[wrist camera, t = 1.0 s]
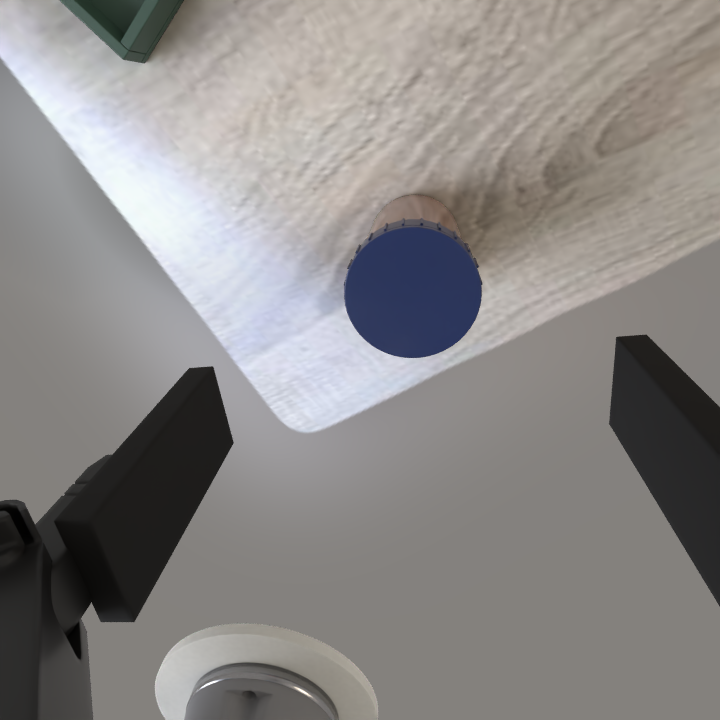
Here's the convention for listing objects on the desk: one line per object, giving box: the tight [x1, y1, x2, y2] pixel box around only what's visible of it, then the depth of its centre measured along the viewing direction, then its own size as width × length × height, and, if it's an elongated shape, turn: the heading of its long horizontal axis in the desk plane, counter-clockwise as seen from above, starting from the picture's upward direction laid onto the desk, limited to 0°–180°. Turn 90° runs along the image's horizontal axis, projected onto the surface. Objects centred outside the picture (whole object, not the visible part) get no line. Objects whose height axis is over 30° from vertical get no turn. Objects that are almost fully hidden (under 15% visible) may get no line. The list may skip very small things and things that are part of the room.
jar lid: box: [344, 218, 482, 358], centre depth 24 cm, size 6×6×2 cm
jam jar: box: [367, 195, 462, 239], centre depth 29 cm, size 6×6×11 cm
